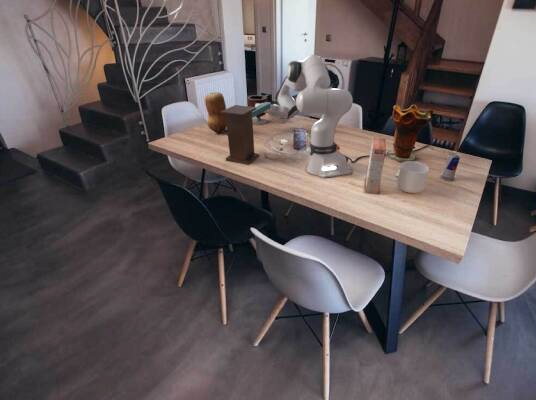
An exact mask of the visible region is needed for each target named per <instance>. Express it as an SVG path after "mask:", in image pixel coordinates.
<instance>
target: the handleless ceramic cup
mask: <svg viewBox="0 0 536 400" xmlns="http://www.w3.org/2000/svg"><path fill="white" fill-rule="evenodd" d="M429 170H430V167H429V166H428V165H426V164H425V163H423V162H419V161H415V160H414V161H406V162H404V161H402V163H400V167H399V172H398V176H397V180H396V181H397V182H396V184H397V187H398V189H400V190H401V191H403V192H405V193H408V194H418V193H420V192H422V191H423V190H424V189H425V186H426V183H427V179H428V175H429V172H430V171H429Z"/></svg>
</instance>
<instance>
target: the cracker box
mask: <svg viewBox="0 0 536 400" xmlns="http://www.w3.org/2000/svg"><path fill="white" fill-rule="evenodd" d="M386 152H387V143H386V138H384V137H372V141H371V146H370V152H369V155H370V157H369V160H368V166H367V172H366V178H365V180H366V181H365V193H371V194H379V193H380V192H379V191H380V186H381V181H382V175H383V169H384V164H385V158H386V155H385V154H386Z"/></svg>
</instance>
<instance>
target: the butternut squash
mask: <svg viewBox="0 0 536 400" xmlns="http://www.w3.org/2000/svg"><path fill="white" fill-rule="evenodd" d="M204 105H205V109H206V111H207V119H206V121H207V122H206V123H207V126H208V129H210V130H211V131H212V132H214V133H216V134H221V133H224V132H225V131H226V130H227V123H226V114H221V113H220V111H223V110H225V109H227V104H226V101H225V97H224V95H223V94H222V93H221V91H214V92H210V93H207V94H206V95H205V96H204Z"/></svg>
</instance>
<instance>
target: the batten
mask: <svg viewBox="0 0 536 400" xmlns="http://www.w3.org/2000/svg"><path fill="white" fill-rule="evenodd" d="M269 104H272V102H271V101H269V102H265V103H263V104H261V105H259V106H257V107H256V110H254V111H252V119H255V118H256V117H255V116H257V115H259V114H261V113H263V112H264V111H266V110H268V109H270V107H269Z"/></svg>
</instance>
